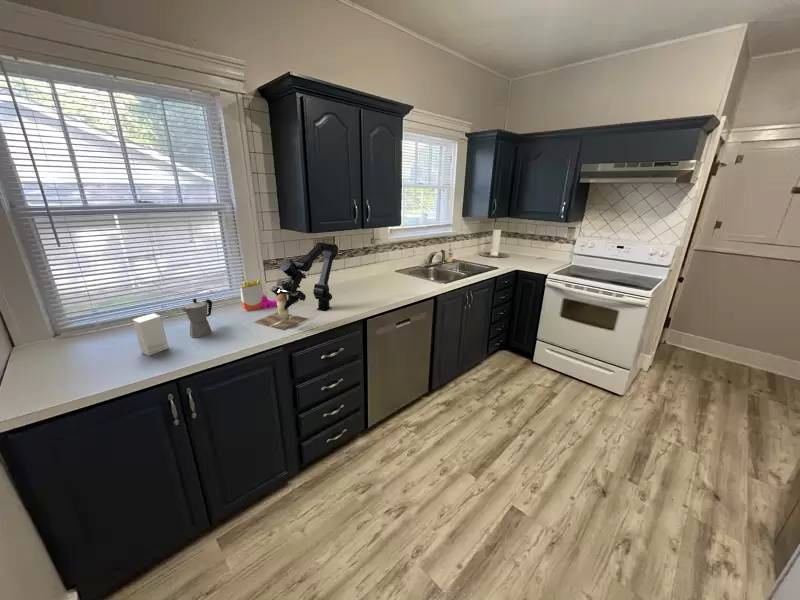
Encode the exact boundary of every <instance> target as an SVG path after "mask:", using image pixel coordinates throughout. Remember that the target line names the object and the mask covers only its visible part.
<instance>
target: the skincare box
mask: <svg viewBox="0 0 800 600" xmlns="http://www.w3.org/2000/svg"><path fill="white" fill-rule="evenodd" d="M132 323H133V327H134V330H135V333H136V334H135V335H136V337H137V341H138V345H139V348H140V353H142V354H144V355H146V356H152V355H155V354H158V353H161V352H162V351H166V350H169V344H168V339H167V335H166V331H165V328H164V327H165V326H164V323H163V320H162V316H161V315H159V314H157V313H150V314H147V315H143V316H139V317H137V318H132Z"/></svg>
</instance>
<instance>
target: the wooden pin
mask: <svg viewBox="0 0 800 600" xmlns="http://www.w3.org/2000/svg"><path fill="white" fill-rule="evenodd" d="M275 300H277V307H276V308H277V312H278V318H279V321H287V320H289V314H290V313H289V307H288V308H287V309H284V307H285V304H286V302H287V300H288V296H287V297H286V295H284V294H279V295H278V296H277V295H276V298H275Z"/></svg>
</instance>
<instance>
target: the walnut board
mask: <svg viewBox="0 0 800 600" xmlns="http://www.w3.org/2000/svg"><path fill="white" fill-rule="evenodd" d="M309 319H310V317H309V318H308V317H304V316H299V315H296V314H291V313H289V320H287V321H279V318H278V311H277V312H275V313H273V314H270V315H267V316H265V317H263V318H261V319H258V320H256V321H253V322H252V323H254V324H256V325H262V326H264V327H268V328H273V329H276V330H280V331H284V332H285V331H287V330H289V329H292V328H293V327H295V326H297V325H299V324H301V323H303V322H306V321H308V320H309Z"/></svg>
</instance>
